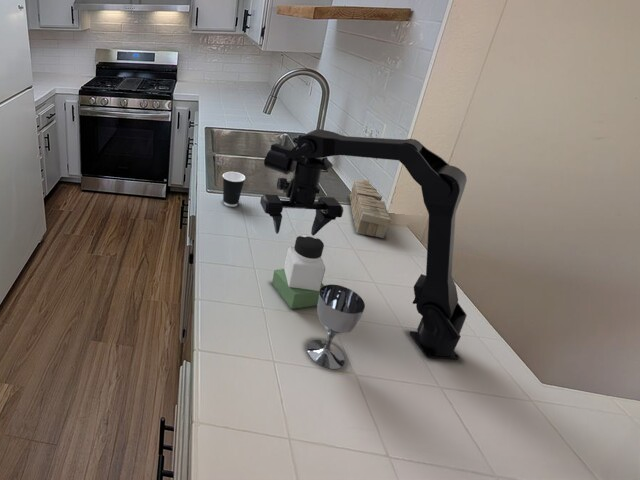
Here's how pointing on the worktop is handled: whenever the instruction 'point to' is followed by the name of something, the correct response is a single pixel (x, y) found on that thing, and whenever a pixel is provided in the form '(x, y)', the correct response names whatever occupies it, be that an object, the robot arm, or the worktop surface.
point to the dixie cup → (232, 187)
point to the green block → (293, 292)
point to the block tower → (368, 210)
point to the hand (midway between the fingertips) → (294, 233)
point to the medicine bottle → (305, 263)
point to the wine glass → (335, 322)
